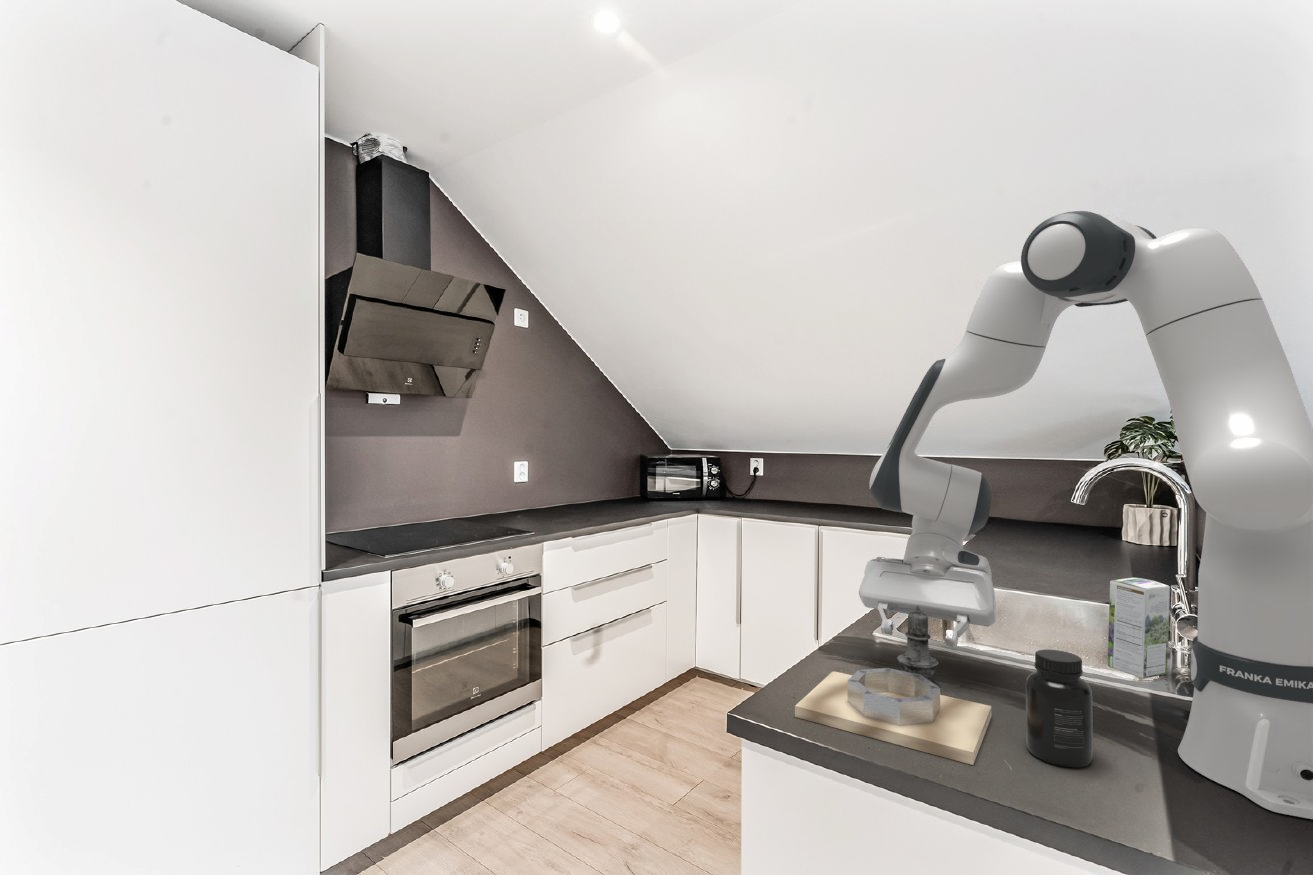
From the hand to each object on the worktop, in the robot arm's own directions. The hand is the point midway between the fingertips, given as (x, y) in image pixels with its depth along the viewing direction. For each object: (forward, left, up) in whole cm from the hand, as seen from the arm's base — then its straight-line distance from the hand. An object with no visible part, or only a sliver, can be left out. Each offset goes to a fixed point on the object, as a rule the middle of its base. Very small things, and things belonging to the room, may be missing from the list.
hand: (917, 638), depth 99 cm
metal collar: (0, +14, -5) cm, 15 cm away
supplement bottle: (-19, +13, -7) cm, 24 cm away
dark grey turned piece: (0, 0, -7) cm, 7 cm away
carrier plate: (0, +14, -7) cm, 16 cm away
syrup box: (-28, -25, -7) cm, 38 cm away
